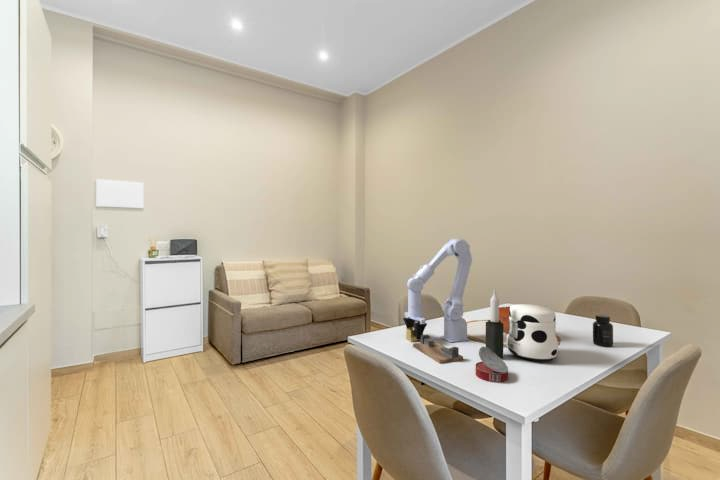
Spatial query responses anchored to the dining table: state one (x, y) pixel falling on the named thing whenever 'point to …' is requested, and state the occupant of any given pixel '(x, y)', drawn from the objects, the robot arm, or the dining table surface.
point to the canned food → (491, 367)
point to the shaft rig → (437, 350)
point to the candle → (494, 328)
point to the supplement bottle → (603, 331)
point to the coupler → (411, 334)
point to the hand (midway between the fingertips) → (414, 336)
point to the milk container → (532, 332)
